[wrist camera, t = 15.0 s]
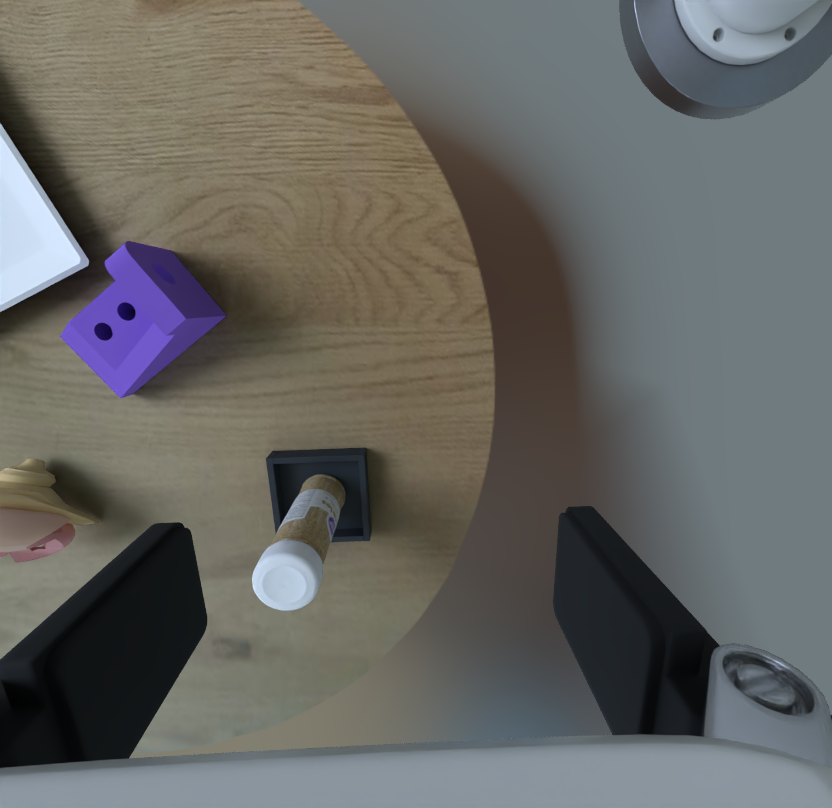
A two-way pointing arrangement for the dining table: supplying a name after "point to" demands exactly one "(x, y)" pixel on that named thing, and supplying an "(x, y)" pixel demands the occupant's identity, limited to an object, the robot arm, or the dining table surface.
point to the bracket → (141, 318)
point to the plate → (30, 232)
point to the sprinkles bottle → (300, 546)
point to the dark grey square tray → (340, 463)
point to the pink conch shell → (34, 513)
